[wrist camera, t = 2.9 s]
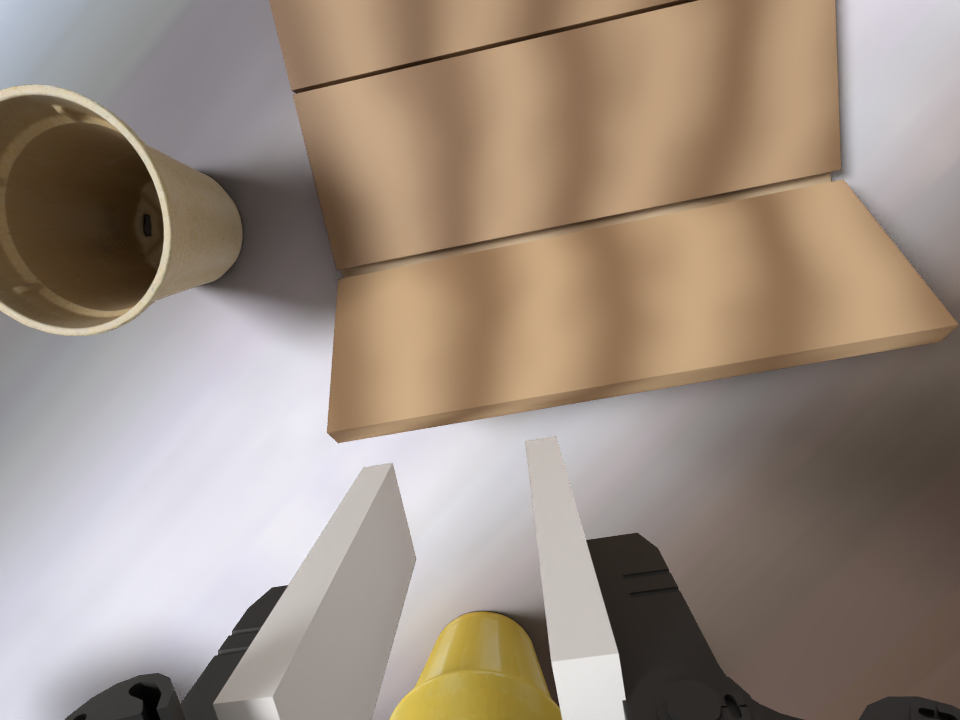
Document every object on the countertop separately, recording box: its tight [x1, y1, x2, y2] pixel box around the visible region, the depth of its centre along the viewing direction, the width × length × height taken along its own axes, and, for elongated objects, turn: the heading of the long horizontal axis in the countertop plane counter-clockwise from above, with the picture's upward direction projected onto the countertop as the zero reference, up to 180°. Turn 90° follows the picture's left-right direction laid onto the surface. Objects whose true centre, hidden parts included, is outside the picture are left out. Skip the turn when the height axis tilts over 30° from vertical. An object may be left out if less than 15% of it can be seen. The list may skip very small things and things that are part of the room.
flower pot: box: [0, 84, 243, 336], centre depth 23 cm, size 9×9×9 cm
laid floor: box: [269, 0, 841, 278], centre depth 24 cm, size 26×18×1 cm
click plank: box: [327, 180, 959, 443], centre depth 23 cm, size 26×9×1 cm
